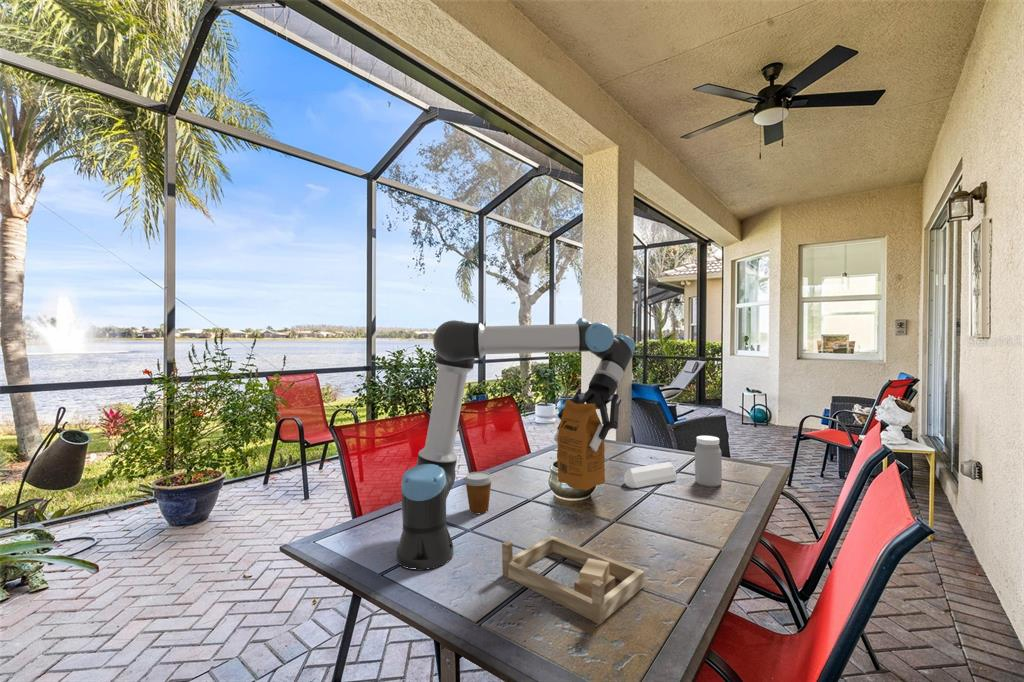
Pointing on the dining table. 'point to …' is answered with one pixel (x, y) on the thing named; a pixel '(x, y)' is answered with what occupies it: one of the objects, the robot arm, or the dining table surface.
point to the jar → (708, 461)
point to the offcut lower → (588, 591)
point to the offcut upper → (594, 572)
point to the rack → (588, 607)
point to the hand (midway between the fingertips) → (574, 445)
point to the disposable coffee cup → (478, 491)
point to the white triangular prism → (650, 475)
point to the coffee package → (579, 447)
